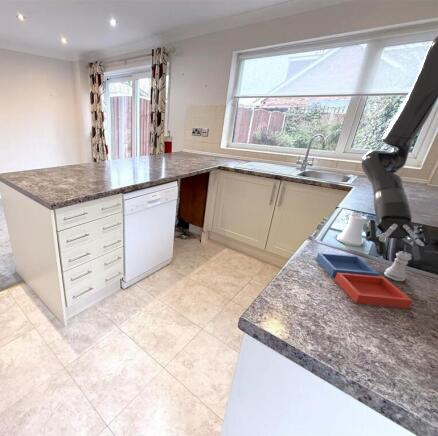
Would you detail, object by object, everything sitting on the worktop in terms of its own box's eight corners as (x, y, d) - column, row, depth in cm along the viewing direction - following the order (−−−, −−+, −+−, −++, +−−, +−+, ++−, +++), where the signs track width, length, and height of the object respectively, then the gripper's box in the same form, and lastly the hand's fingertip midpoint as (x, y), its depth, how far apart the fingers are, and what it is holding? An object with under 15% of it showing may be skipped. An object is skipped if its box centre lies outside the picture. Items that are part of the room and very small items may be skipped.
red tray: (380, 284, 68) (383, 276, 67) (408, 308, 59) (413, 300, 58) (334, 279, 69) (337, 272, 68) (355, 303, 60) (359, 295, 60)
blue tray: (355, 262, 78) (357, 255, 77) (376, 281, 69) (379, 273, 68) (315, 259, 79) (318, 252, 78) (331, 276, 71) (334, 269, 70)
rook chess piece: (400, 275, 72) (411, 251, 69) (407, 283, 68) (420, 259, 65) (380, 271, 73) (391, 248, 70) (386, 279, 70) (398, 255, 67)
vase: (341, 234, 96) (350, 211, 93) (365, 242, 91) (375, 217, 87) (333, 239, 92) (341, 215, 89) (357, 247, 87) (367, 222, 83)
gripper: (371, 198, 73) (380, 250, 67) (430, 203, 70) (444, 258, 64) (356, 209, 80) (362, 257, 74) (409, 214, 77) (420, 264, 71)
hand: (400, 257), depth 69 cm, fingers open, 8 cm apart
